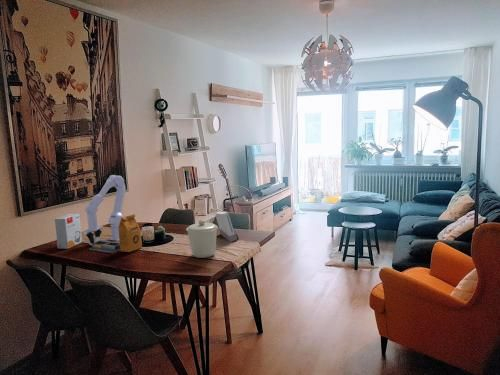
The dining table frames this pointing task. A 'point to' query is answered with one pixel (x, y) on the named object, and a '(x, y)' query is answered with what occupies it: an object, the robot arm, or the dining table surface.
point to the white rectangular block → (95, 240)
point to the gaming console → (226, 226)
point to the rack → (105, 246)
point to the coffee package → (129, 234)
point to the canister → (202, 239)
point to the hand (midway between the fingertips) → (94, 242)
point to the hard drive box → (68, 231)
